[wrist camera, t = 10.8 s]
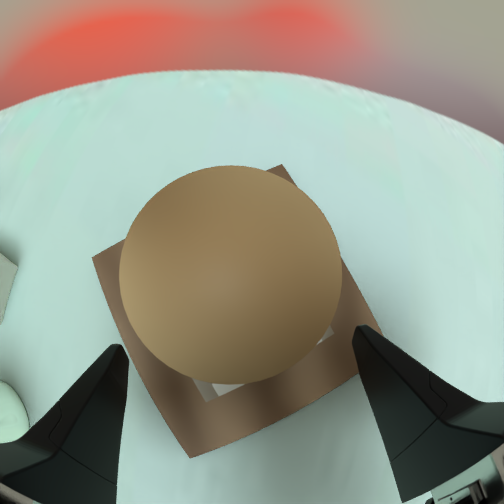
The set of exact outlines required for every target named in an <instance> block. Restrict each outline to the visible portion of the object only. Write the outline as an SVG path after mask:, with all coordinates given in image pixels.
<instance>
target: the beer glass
mask: <svg viewBox="0 0 504 504" xmlns="http://www.w3.org/2000/svg"><path fill="white" fill-rule="evenodd" d="M28 430H29V421H28V416H27V413H26V410H25V407H24V405H23V403H22V401H21V399H20V398H19V396H18V395H17V393H16V392H15V391H14V390H13V388H12V387H10V386H9V385H8V384H6V383H4V382H0V443H4V442H11V441H15V440H17V439H19V438H20V437H21V436H23V435H24V434H25V433H26V432H27V431H28Z"/></svg>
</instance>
